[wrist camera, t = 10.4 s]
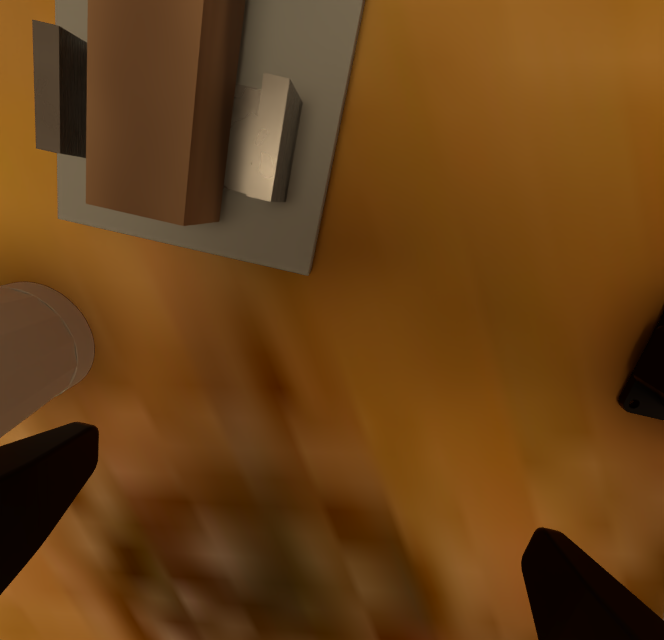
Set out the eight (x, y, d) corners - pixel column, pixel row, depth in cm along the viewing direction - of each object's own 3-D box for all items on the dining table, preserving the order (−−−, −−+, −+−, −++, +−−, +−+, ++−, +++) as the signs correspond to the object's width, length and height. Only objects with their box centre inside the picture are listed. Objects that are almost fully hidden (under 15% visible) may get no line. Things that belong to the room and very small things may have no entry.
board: (411, -232, 13) (416, -267, 12) (310, 271, 18) (308, 275, 17) (73, -310, 13) (50, -351, 12) (73, 217, 18) (57, 218, 17)
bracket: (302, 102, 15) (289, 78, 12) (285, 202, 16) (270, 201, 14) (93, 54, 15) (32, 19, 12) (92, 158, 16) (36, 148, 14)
